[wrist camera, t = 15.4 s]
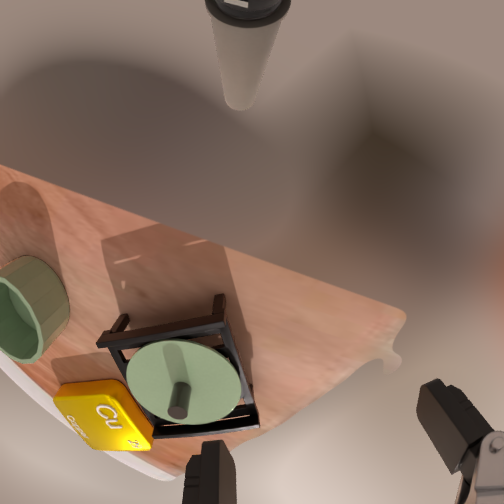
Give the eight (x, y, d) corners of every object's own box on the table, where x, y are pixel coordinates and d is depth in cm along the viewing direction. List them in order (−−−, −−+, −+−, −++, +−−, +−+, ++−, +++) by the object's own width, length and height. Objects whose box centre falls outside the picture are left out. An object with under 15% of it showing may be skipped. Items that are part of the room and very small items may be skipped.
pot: (-3, 265, 35) (-35, 284, 27) (49, 245, 35) (14, 265, 27) (28, 338, 39) (3, 364, 31) (83, 330, 39) (58, 361, 31)
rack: (116, 312, 38) (95, 343, 31) (225, 289, 38) (223, 320, 30) (162, 404, 44) (153, 439, 36) (256, 390, 43) (260, 427, 36)
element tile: (57, 383, 42) (47, 399, 37) (120, 376, 42) (111, 396, 37) (98, 436, 46) (91, 452, 42) (159, 434, 46) (155, 453, 41)
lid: (110, 344, 33) (94, 371, 28) (223, 325, 33) (221, 354, 27) (155, 423, 37) (148, 450, 32) (252, 411, 37) (255, 441, 32)
